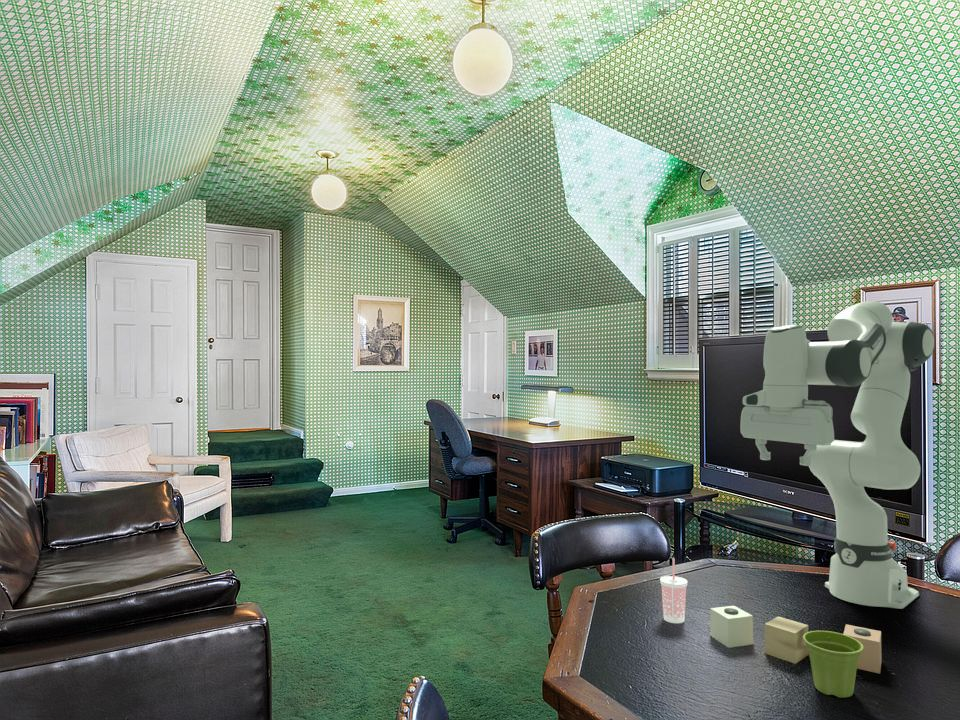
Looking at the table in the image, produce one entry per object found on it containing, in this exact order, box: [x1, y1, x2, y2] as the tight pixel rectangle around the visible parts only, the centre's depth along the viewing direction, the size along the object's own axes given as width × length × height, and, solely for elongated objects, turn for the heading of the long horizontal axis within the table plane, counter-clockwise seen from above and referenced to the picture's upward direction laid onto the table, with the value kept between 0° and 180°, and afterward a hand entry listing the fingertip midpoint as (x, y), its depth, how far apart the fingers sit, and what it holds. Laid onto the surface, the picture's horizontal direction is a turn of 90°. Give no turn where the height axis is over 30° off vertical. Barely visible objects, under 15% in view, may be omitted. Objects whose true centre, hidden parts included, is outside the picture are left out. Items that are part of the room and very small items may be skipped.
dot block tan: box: [842, 623, 882, 675], centre depth 122 cm, size 6×6×6 cm
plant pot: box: [803, 630, 863, 699], centre depth 112 cm, size 9×9×9 cm
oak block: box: [764, 616, 809, 665], centre depth 127 cm, size 6×6×6 cm
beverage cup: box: [659, 557, 689, 624], centre depth 144 cm, size 6×6×14 cm
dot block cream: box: [709, 605, 754, 649], centre depth 133 cm, size 6×6×6 cm
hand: (784, 462), depth 137 cm, fingers open, 8 cm apart
